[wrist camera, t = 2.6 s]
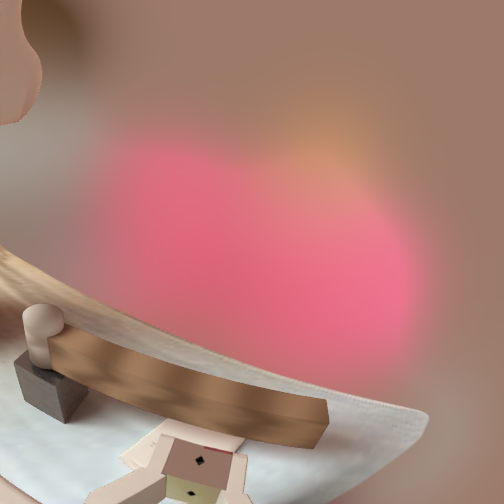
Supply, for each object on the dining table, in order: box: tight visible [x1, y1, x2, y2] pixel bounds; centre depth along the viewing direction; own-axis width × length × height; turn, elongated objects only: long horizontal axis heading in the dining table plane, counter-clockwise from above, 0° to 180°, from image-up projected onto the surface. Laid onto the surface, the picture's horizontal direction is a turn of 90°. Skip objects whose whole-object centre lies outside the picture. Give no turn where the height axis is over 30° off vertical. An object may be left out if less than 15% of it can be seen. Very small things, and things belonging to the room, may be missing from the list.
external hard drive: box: [119, 418, 246, 504], centre depth 27 cm, size 2×8×12 cm
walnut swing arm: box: [22, 304, 330, 449], centre depth 25 cm, size 30×4×5 cm, turn 85°
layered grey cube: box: [14, 350, 89, 424], centre depth 26 cm, size 6×6×6 cm
